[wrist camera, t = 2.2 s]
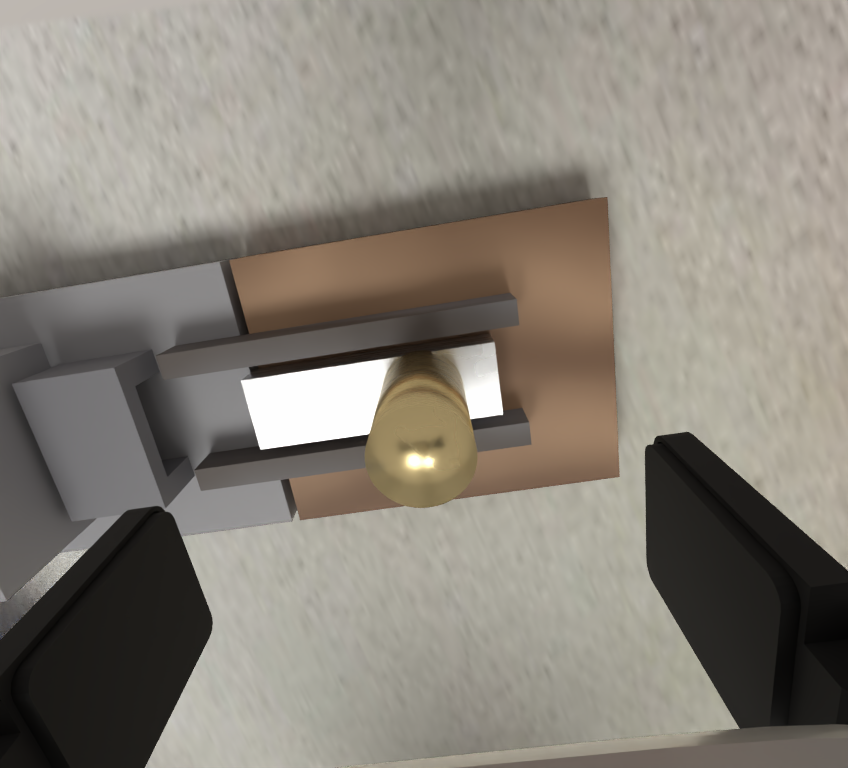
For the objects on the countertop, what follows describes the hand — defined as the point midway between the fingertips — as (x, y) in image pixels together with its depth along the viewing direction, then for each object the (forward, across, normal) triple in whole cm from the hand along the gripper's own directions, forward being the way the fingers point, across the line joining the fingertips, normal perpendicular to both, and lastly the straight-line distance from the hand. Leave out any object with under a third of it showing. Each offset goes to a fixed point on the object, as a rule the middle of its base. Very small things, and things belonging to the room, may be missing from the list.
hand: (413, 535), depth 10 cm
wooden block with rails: (+14, +1, +1) cm, 14 cm away
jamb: (+14, +15, +1) cm, 20 cm away
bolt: (+12, +2, +1) cm, 12 cm away
